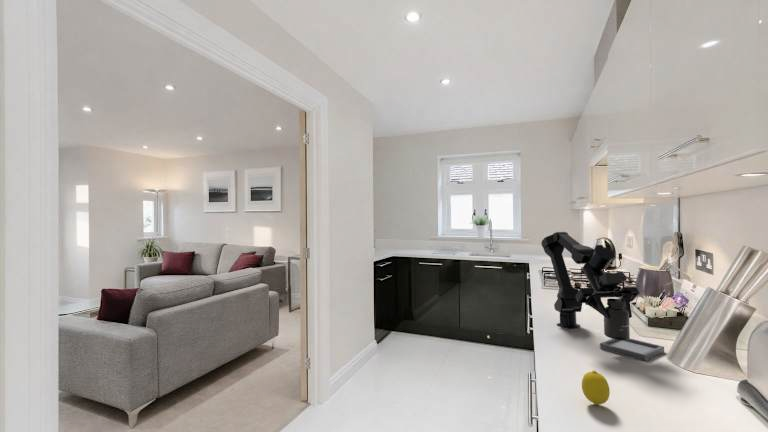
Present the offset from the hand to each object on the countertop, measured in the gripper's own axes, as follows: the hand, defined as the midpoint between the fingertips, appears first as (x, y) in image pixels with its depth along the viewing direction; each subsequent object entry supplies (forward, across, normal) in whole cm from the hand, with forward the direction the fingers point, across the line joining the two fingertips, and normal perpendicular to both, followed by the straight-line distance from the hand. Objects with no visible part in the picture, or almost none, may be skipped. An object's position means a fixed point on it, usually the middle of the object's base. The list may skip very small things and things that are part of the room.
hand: (619, 317), depth 106 cm
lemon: (+29, -25, -12) cm, 40 cm away
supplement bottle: (+4, 0, +6) cm, 7 cm away
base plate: (+6, +6, +12) cm, 14 cm away
